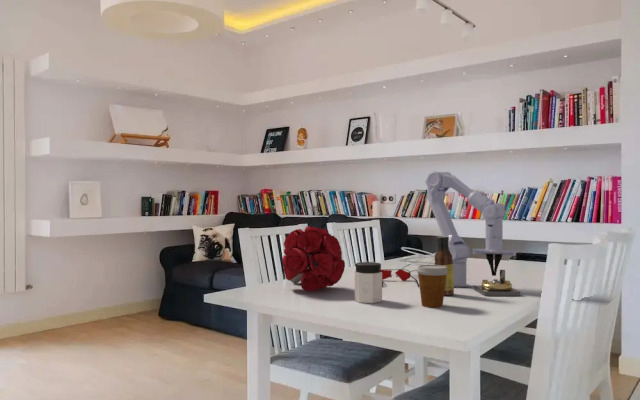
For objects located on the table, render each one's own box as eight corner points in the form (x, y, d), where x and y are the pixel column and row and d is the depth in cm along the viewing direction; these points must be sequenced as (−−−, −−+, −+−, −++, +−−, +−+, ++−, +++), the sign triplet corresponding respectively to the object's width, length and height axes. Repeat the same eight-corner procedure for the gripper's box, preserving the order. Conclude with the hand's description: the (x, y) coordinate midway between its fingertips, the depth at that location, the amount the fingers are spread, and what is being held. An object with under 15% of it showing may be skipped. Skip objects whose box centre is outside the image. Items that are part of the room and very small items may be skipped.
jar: (351, 302, 162) (351, 264, 162) (357, 297, 170) (357, 261, 170) (379, 304, 159) (379, 265, 159) (384, 299, 167) (384, 262, 167)
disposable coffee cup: (414, 302, 162) (414, 264, 162) (444, 302, 162) (444, 264, 162) (419, 308, 153) (419, 268, 153) (451, 309, 153) (451, 268, 153)
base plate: (484, 296, 173) (484, 291, 173) (474, 289, 185) (474, 285, 185) (520, 296, 173) (520, 291, 172) (507, 289, 185) (507, 285, 184)
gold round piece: (503, 291, 171) (503, 274, 171) (476, 287, 179) (476, 271, 178) (517, 287, 179) (517, 271, 179) (490, 284, 186) (490, 268, 186)
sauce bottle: (455, 293, 177) (455, 236, 177) (452, 296, 171) (452, 237, 171) (436, 292, 180) (436, 235, 180) (432, 295, 174) (432, 236, 174)
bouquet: (270, 305, 189) (298, 274, 166) (264, 247, 200) (290, 210, 177) (323, 304, 198) (357, 275, 175) (314, 248, 209) (345, 214, 186)
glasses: (410, 281, 206) (410, 268, 206) (419, 288, 190) (419, 274, 190) (376, 281, 206) (376, 268, 206) (382, 288, 189) (382, 275, 189)
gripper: (472, 237, 181) (472, 275, 181) (516, 238, 177) (516, 278, 177) (473, 236, 188) (473, 273, 188) (515, 237, 183) (515, 275, 183)
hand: (493, 275), depth 183 cm, fingers closed
